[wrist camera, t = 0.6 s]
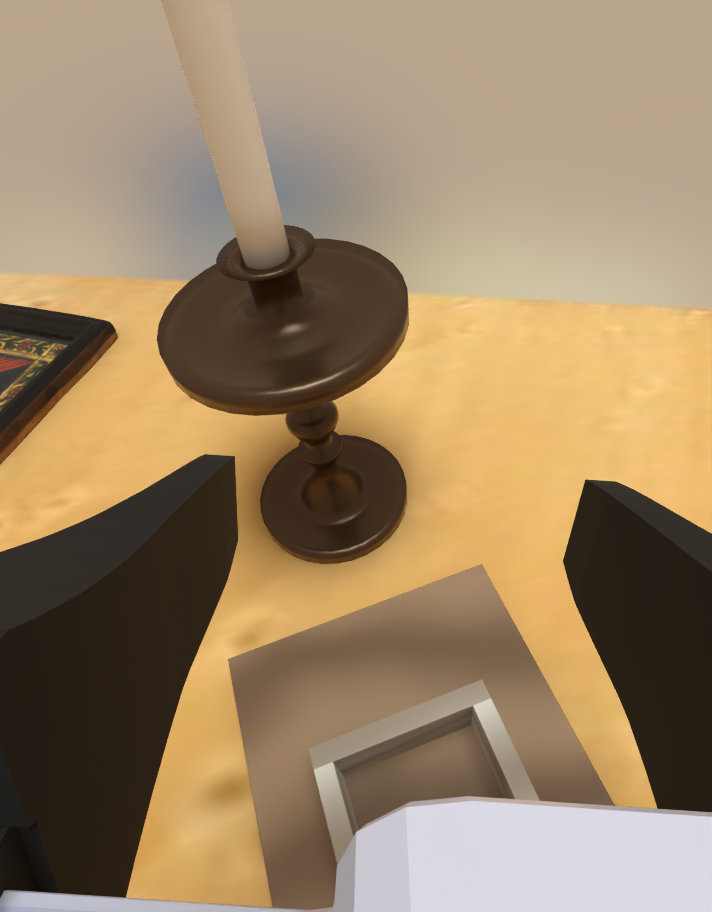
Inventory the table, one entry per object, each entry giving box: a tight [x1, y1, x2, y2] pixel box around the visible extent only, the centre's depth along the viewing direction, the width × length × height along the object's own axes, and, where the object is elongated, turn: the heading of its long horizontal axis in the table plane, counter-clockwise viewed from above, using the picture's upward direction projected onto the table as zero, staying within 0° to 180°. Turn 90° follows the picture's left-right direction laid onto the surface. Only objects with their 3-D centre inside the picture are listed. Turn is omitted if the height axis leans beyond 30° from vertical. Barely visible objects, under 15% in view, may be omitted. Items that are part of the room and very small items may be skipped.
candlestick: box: [157, 0, 409, 564], centre depth 22 cm, size 11×11×35 cm
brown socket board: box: [228, 564, 615, 910], centre depth 22 cm, size 20×14×4 cm
